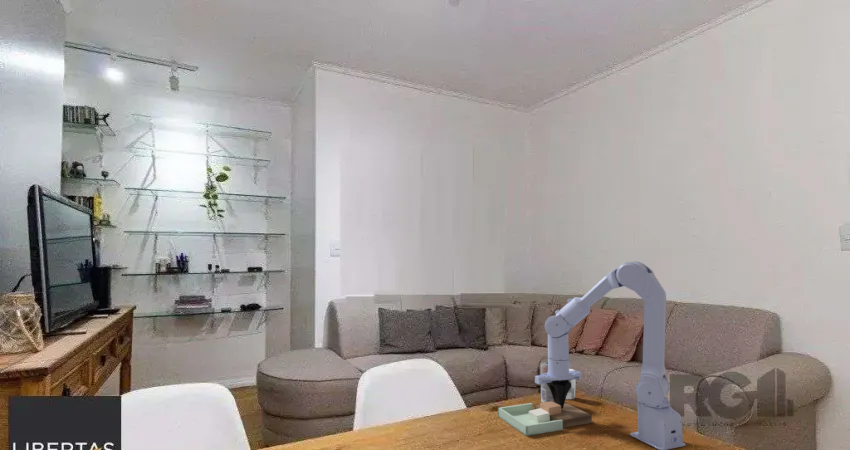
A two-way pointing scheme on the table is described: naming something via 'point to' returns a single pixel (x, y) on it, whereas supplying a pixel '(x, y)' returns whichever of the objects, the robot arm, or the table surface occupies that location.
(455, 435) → the table surface
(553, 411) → the tile
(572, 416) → the board
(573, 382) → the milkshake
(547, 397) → the energy drink
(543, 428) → the tray
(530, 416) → the tile
